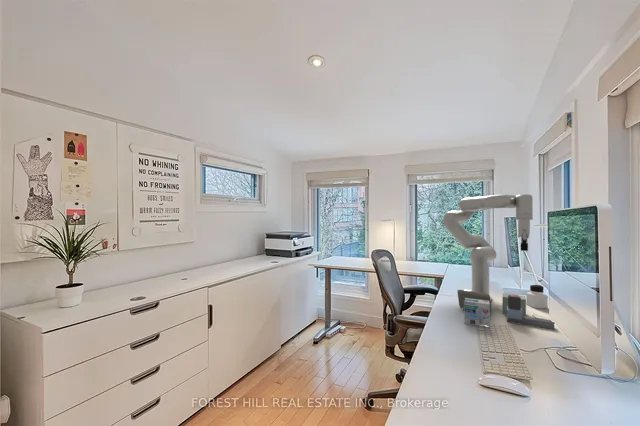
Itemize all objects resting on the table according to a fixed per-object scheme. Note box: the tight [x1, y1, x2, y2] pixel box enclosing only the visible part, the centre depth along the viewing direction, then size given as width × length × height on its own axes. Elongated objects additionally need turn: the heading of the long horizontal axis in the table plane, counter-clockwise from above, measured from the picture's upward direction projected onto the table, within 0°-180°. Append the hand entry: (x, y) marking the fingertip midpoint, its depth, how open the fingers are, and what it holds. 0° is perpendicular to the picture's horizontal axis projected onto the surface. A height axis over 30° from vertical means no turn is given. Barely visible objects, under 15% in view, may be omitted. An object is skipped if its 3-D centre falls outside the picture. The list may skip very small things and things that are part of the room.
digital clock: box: [456, 289, 493, 314], centre depth 159 cm, size 16×9×11 cm, turn 36°
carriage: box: [506, 295, 522, 320], centre depth 143 cm, size 6×7×10 cm
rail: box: [506, 315, 555, 331], centre depth 139 cm, size 18×4×3 cm, turn 57°
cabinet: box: [502, 293, 527, 316], centre depth 154 cm, size 10×8×9 cm
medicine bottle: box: [525, 284, 549, 309], centre depth 167 cm, size 7×7×12 cm
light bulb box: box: [463, 298, 491, 327], centre depth 141 cm, size 11×7×11 cm, turn 62°
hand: (524, 250), depth 162 cm, fingers closed
